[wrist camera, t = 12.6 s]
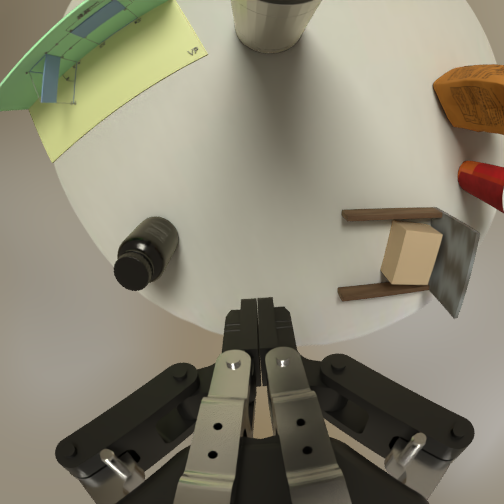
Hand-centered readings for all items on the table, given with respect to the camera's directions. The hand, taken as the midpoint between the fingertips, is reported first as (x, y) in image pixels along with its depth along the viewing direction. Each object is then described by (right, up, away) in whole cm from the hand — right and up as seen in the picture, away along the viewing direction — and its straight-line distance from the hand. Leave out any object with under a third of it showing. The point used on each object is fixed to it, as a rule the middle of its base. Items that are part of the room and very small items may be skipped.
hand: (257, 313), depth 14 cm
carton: (+26, +4, +30) cm, 40 cm away
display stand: (-22, +29, +19) cm, 41 cm away
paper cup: (+38, +16, +25) cm, 48 cm away
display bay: (+23, +3, +30) cm, 38 cm away
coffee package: (+35, +29, +19) cm, 49 cm away
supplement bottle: (-15, +5, +29) cm, 33 cm away
